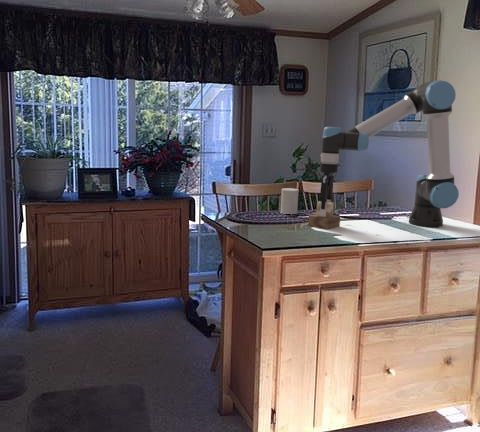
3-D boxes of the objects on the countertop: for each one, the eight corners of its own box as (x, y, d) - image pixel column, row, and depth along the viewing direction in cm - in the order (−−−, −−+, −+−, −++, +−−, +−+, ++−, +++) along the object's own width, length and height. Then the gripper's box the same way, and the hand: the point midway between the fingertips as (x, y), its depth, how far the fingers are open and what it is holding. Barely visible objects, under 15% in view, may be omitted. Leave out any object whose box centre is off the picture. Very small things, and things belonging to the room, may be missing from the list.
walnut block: (339, 227, 238) (340, 216, 237) (327, 230, 230) (328, 219, 229) (320, 223, 244) (321, 212, 243) (308, 226, 237) (308, 215, 236)
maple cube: (332, 215, 238) (333, 202, 237) (329, 217, 232) (330, 204, 231) (319, 214, 240) (320, 200, 239) (316, 216, 235) (317, 202, 233)
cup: (277, 212, 266) (279, 188, 263) (293, 211, 268) (294, 188, 266) (284, 215, 258) (285, 190, 256) (299, 215, 260) (301, 190, 258)
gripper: (326, 160, 242) (321, 211, 246) (315, 163, 224) (310, 217, 229) (342, 162, 239) (337, 213, 243) (332, 165, 222) (327, 219, 226)
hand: (324, 215), depth 236 cm, fingers open, 6 cm apart
